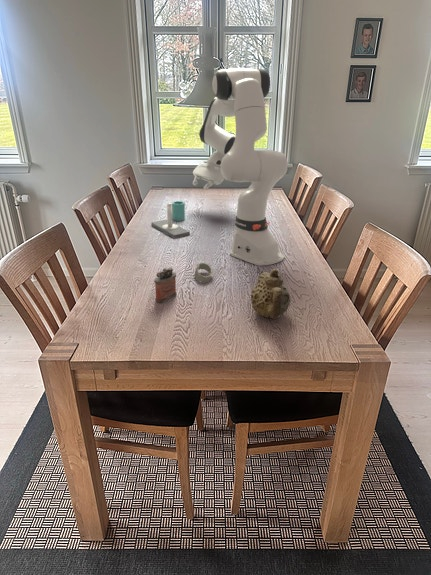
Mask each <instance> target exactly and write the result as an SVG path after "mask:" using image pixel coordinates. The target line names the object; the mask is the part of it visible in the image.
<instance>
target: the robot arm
mask: <svg viewBox="0 0 431 575" xmlns="http://www.w3.org/2000/svg"><path fill="white" fill-rule="evenodd" d="M211 87H212V91H213V94H214V98H213V99H212V100H211V102H210V103H209V105H208V109H207V112H206V114H205V116H204V121H203V124H202V126H201V128H200V130H199V132H198V135H199V140H200V141H201V143H204V144H206V145H208V146H209V147H210V148H212V149H214V150H215V151H214V152H212V154H211V155H210V156H209V157H208V159H207V160H205V161H203V162H200V163H199V164H198V165H197V166H196V167H195V168H194V169H193V171H192V174H193V176H194V178H193V181H192V185H193V186H194V187H195V186H197V185H198V184H199V183H198V182H199V180H203V181H205V182H207V183H206V184H204V185H203V189H204V190H207V191H208V189H209V188H210V187H212V186H213V185H217V186H218V185H220V184H222V183H223V181H225V180H226V181H228V182H235V183H249V182H251V184H249V186H248V187H247V188H246V189H245V190H244V191H242V192H241V193H240V194H239V195H238V198H237V208H236V216H235V219H234V225H235V230H234V233H233V238H232V245H231V248H230V251H229V256H232V257H234V258H237V259H239V260H242V261H246V262H248V263H250V264H252V265H253V264H254V266H260V267H261V266H270V265H274V264H277V263H280V262H282V261H283V260H284V259H285V256H284V255H283V254H282V253H281V252H279V243H278V241H277V239H276V238H275V237H274V236H273V235H272V233H271V231H270V230H269V229H268V226H269V225H270V223H271V222H269V221H268V222H267V217H266V210H267V204H268V199H269V196H270V194H271V191H272V190H273V188H274V186H275V185H276V184H277V183H278V182H279V180H281V179H282V178H284V176H285V175H286V174H287V172H288V166H289V165H288V164H289V162H288V160H287V156H286V155H285V154H284V153H283V152H282V151H278V150H271V149H265V150H256V149H255V144H256V142H258V141H259V140H261V139H262V138H263V137H264V136H265V134H266V132H267V129H268V127H267V117H266V116H267V115H266V105H265V104H266V103H265V98H266V97H267V96H268V94H269V93H270V89H271V78H270V74H269V73H268V71H267V70H265V69H262V68H257V69H256V68H248V67H247V68H243V67H235V68H234V67H233V68H228V69H226V68H222V69H219V70H217V71H216V72H215V73H214V75H213V78H212V86H211ZM218 116H220V117H221V116H222V117H225V118H233V117H234V119H235V134H234V133H230V132H229V131H227V130H225V129H224V128H222V127H220V126H219V125H218V124H217V123H216V122H217V121H216V120H217V117H218Z"/></svg>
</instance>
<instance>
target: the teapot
mask: <svg viewBox="0 0 431 575" xmlns="http://www.w3.org/2000/svg"><path fill="white" fill-rule="evenodd" d="M283 283H284V279H283V276H281V275H280V274H279V271H278V269H277V268H273V269H271V270H270V272H266V271H265V272H264V271H263V272H262V273H260V274H259V276H258V277H257V283H256V284H254V286H253V289H252V290H251V293H250V301H251V307H252V309H253V311H254V312H255V313H257V314H259V315H261V316H262V317H264V318H271V319H274V320H275V319H278V318H279V317H280V316H282V315H283V314H284V313H285V312H287V310H288V308H289V306H290V305H291V301H292V300H291V294H290V291H289V290H288V288H287V286H286V285H284V284H283Z"/></svg>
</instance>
